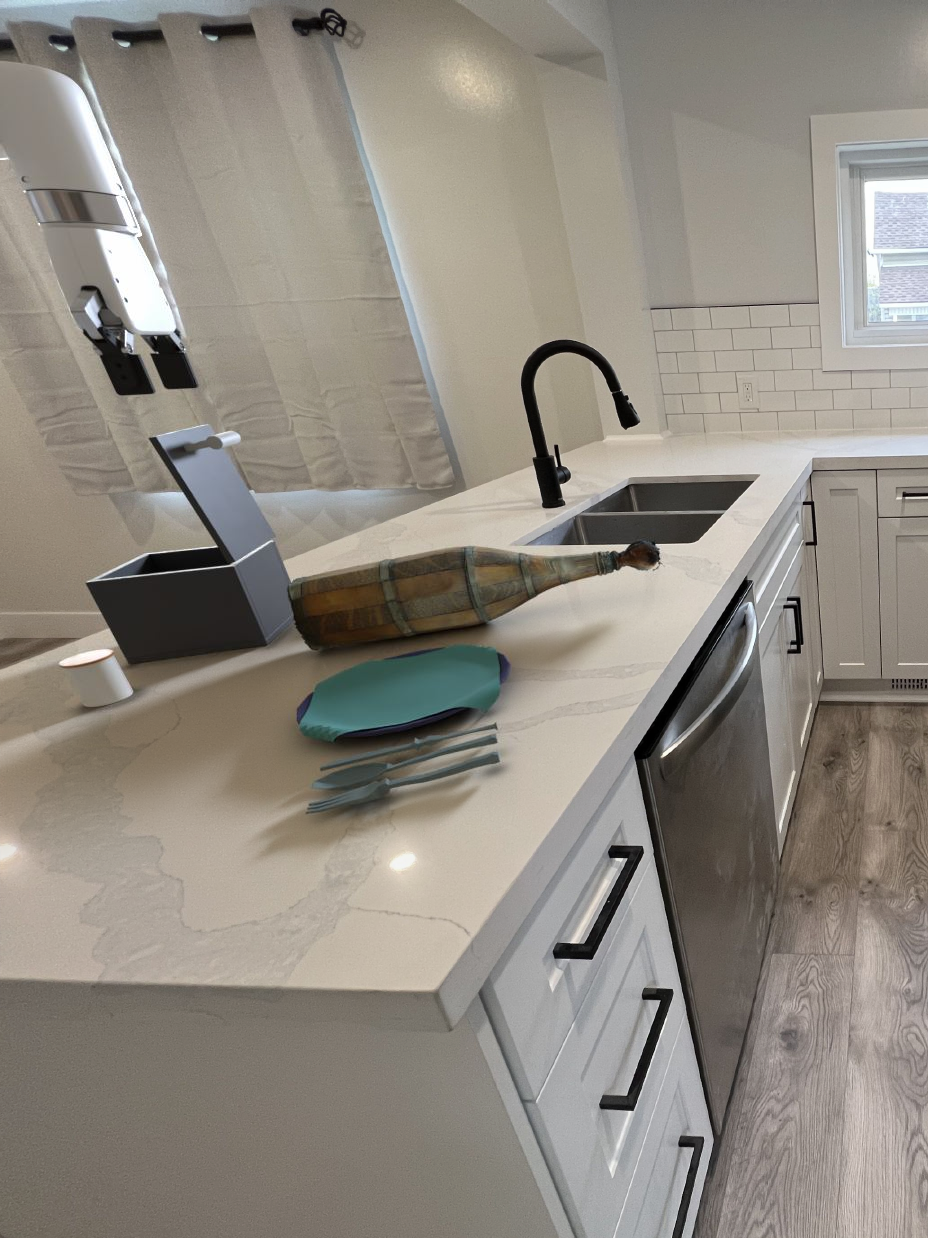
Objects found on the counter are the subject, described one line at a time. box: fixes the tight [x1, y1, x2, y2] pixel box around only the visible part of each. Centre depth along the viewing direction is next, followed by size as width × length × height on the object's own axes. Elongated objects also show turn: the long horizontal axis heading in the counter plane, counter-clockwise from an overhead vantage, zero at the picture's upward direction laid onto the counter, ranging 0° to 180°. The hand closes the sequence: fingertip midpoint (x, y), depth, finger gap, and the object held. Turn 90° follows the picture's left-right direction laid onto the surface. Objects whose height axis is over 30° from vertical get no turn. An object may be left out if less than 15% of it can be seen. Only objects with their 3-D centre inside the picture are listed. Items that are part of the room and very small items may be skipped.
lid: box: [148, 423, 277, 563], centre depth 88 cm, size 15×13×5 cm
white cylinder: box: [58, 648, 134, 708], centre depth 77 cm, size 4×4×5 cm
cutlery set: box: [296, 643, 512, 815], centre depth 71 cm, size 20×30×2 cm, turn 27°
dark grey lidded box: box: [84, 539, 295, 665], centre depth 91 cm, size 15×13×11 cm
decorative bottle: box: [287, 539, 665, 652], centre depth 94 cm, size 11×11×45 cm
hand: (161, 391), depth 79 cm, fingers open, 9 cm apart
